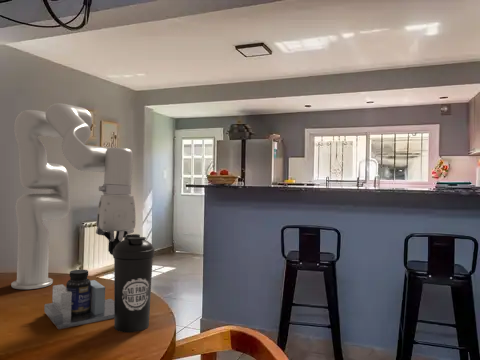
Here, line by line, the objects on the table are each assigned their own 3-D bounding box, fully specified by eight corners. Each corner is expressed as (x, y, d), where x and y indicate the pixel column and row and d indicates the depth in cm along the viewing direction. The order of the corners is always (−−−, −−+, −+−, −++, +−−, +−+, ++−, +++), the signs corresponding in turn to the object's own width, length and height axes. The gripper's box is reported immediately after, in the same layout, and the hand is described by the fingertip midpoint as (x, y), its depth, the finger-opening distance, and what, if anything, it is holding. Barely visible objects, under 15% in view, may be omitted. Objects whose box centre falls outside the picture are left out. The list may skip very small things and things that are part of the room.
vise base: (43, 313, 105) (43, 284, 105) (110, 301, 116) (111, 275, 117) (55, 330, 94) (56, 297, 94) (129, 315, 105) (129, 286, 106)
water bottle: (114, 336, 91) (117, 239, 91) (107, 322, 100) (110, 233, 100) (156, 330, 95) (159, 237, 96) (146, 316, 105) (149, 232, 105)
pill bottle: (80, 316, 101) (82, 274, 101) (60, 314, 102) (61, 272, 102) (94, 309, 107) (95, 269, 107) (74, 307, 108) (76, 268, 108)
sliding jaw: (84, 305, 109) (85, 281, 109) (93, 304, 111) (94, 280, 111) (95, 314, 102) (95, 288, 102) (104, 313, 104) (105, 287, 104)
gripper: (95, 191, 103) (91, 259, 103) (147, 192, 112) (143, 254, 112) (86, 189, 109) (83, 253, 109) (136, 190, 118) (133, 249, 118)
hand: (114, 254), depth 111 cm, fingers closed
